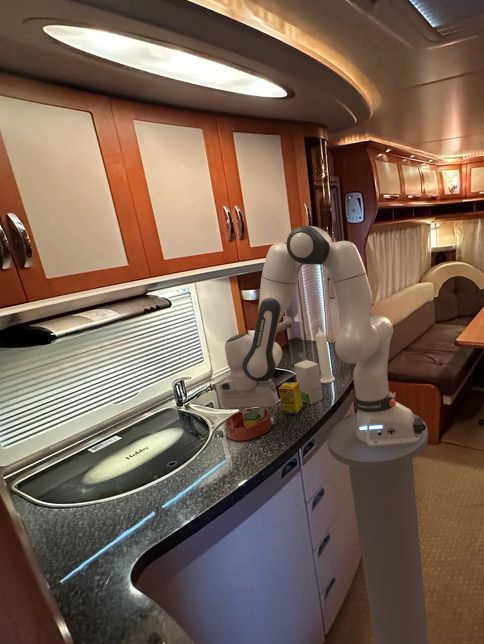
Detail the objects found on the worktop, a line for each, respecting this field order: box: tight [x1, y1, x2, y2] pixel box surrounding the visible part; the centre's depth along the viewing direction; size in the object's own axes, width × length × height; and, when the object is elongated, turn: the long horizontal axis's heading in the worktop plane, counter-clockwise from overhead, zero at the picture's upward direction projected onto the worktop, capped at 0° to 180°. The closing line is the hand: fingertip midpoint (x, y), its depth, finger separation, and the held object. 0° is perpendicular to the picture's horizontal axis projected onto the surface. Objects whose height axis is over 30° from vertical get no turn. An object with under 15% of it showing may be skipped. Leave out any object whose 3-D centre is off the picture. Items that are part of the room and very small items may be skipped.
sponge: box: [243, 409, 265, 426], centre depth 131 cm, size 4×7×3 cm, turn 168°
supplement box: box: [278, 381, 304, 416], centre depth 142 cm, size 6×6×11 cm
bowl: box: [224, 407, 273, 442], centre depth 132 cm, size 15×15×5 cm
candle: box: [314, 327, 336, 384], centre depth 166 cm, size 7×7×25 cm
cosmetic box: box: [293, 359, 324, 405], centre depth 150 cm, size 8×7×16 cm
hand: (254, 417), depth 131 cm, fingers closed on sponge, 4 cm apart
